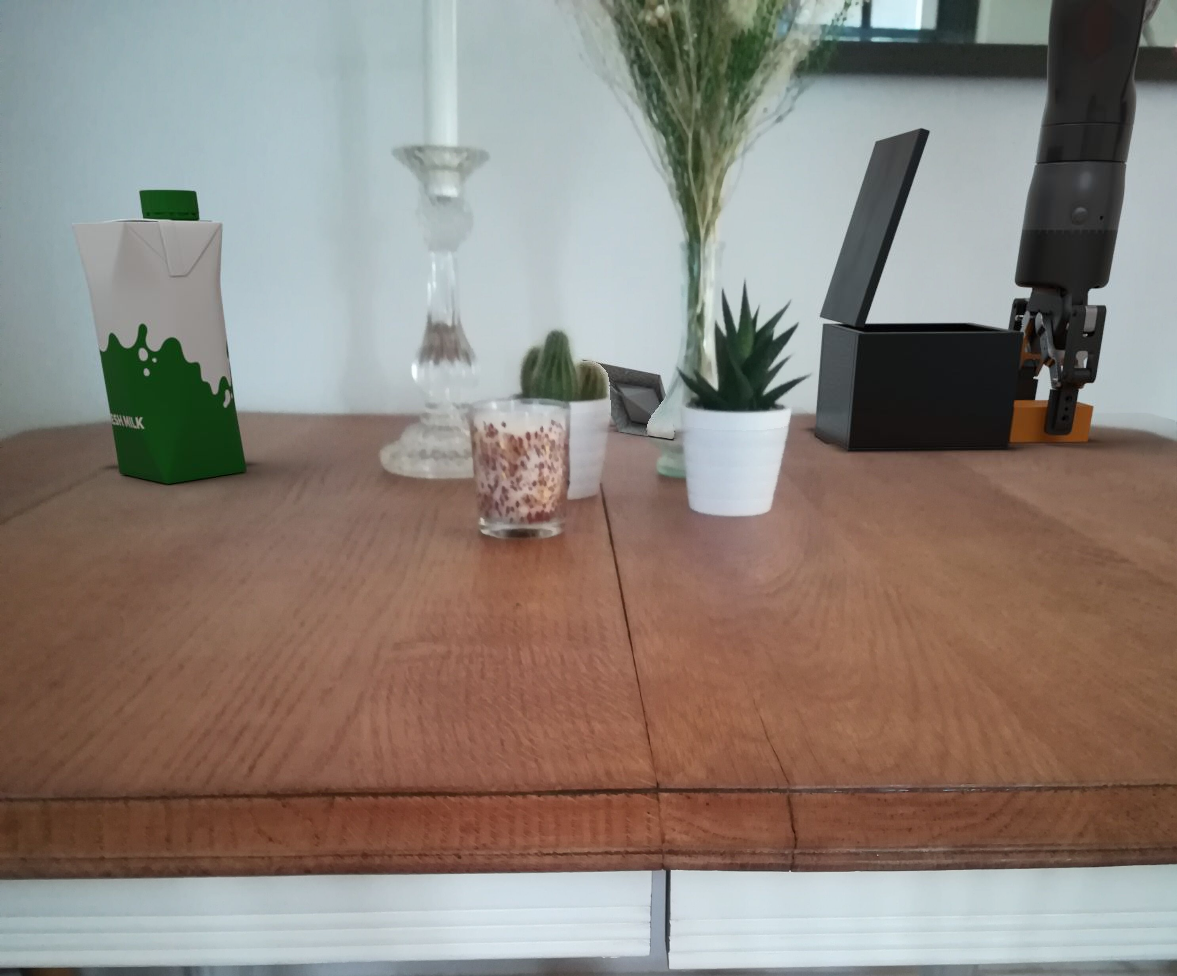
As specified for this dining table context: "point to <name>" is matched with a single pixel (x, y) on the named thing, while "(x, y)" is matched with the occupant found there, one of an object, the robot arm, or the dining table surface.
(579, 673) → the dining table surface
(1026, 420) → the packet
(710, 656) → the dining table surface
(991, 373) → the black box
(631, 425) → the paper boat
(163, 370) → the milk carton
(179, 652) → the dining table surface
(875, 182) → the box lid
